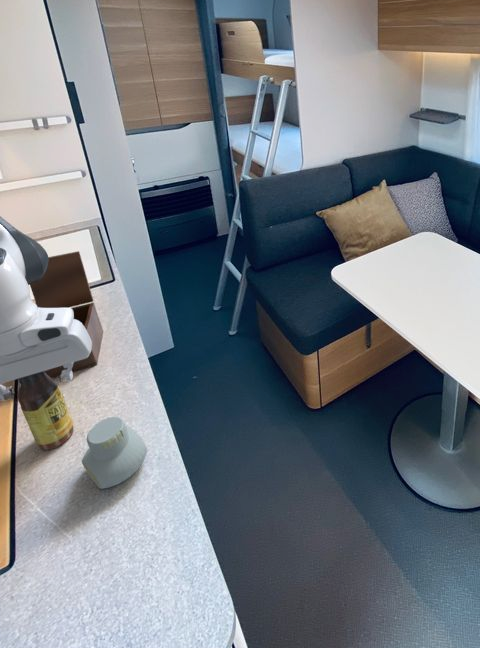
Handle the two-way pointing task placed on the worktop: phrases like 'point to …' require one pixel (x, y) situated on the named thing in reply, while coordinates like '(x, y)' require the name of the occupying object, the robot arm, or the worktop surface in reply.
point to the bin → (95, 331)
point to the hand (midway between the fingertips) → (39, 388)
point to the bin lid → (62, 283)
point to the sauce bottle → (45, 410)
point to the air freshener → (113, 452)
